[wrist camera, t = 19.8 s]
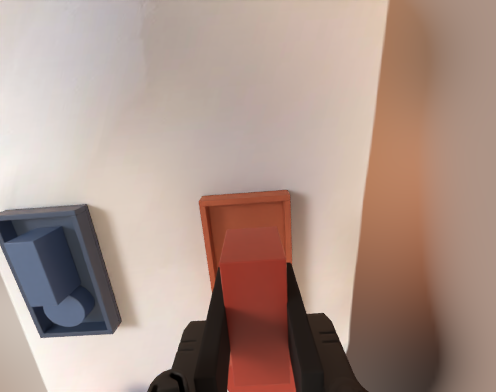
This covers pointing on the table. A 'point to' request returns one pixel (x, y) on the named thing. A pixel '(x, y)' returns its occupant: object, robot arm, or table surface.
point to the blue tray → (85, 258)
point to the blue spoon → (50, 275)
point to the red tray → (243, 220)
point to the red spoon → (256, 310)
